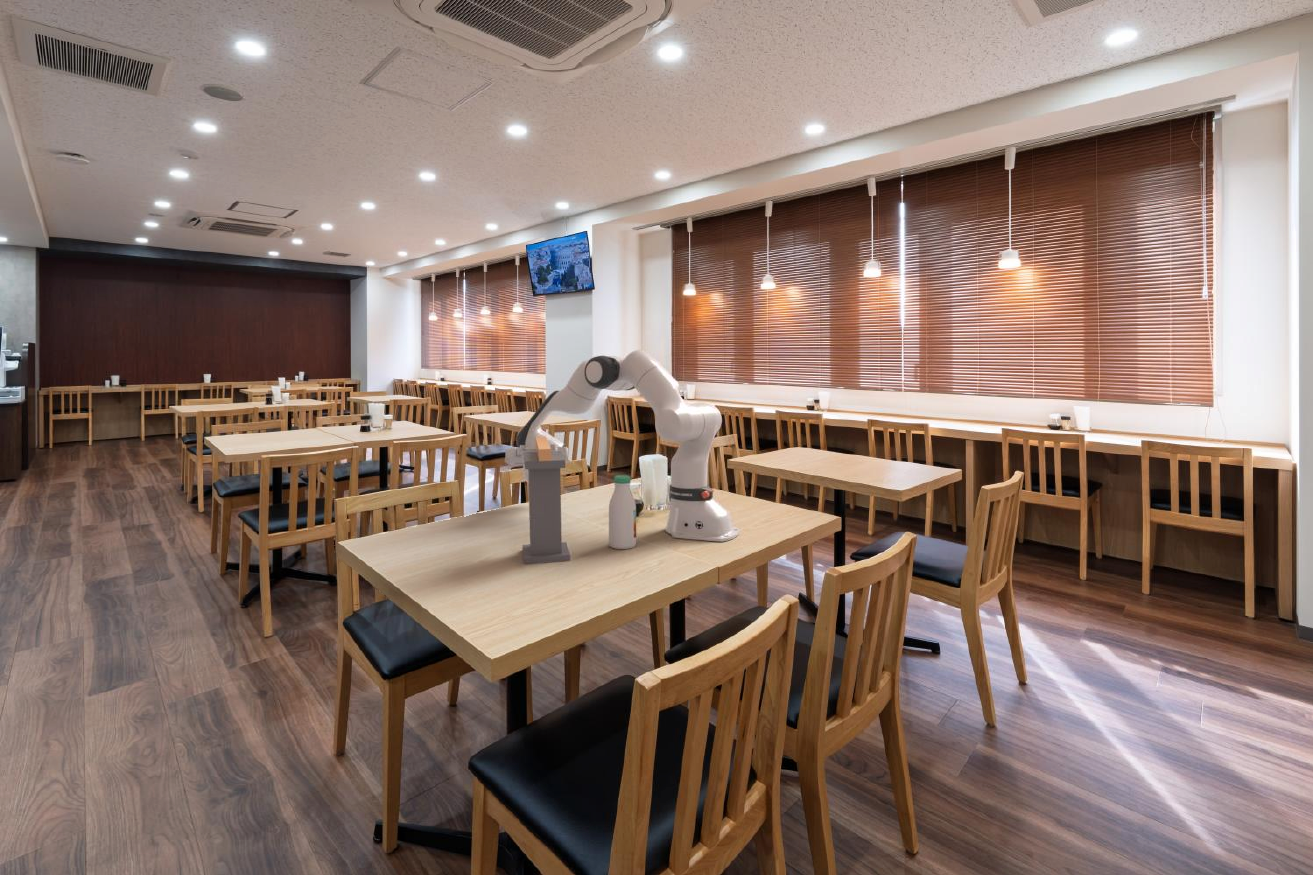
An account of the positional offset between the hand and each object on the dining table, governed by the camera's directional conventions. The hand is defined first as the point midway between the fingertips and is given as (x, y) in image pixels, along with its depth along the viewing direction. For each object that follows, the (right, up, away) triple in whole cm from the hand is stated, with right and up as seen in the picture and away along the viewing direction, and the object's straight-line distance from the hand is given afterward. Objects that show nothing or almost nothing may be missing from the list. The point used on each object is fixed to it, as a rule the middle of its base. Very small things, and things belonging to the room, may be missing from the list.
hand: (537, 446), depth 202 cm
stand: (+8, -29, -30) cm, 42 cm away
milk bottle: (+28, -28, -22) cm, 45 cm away
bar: (+7, -1, -29) cm, 30 cm away
